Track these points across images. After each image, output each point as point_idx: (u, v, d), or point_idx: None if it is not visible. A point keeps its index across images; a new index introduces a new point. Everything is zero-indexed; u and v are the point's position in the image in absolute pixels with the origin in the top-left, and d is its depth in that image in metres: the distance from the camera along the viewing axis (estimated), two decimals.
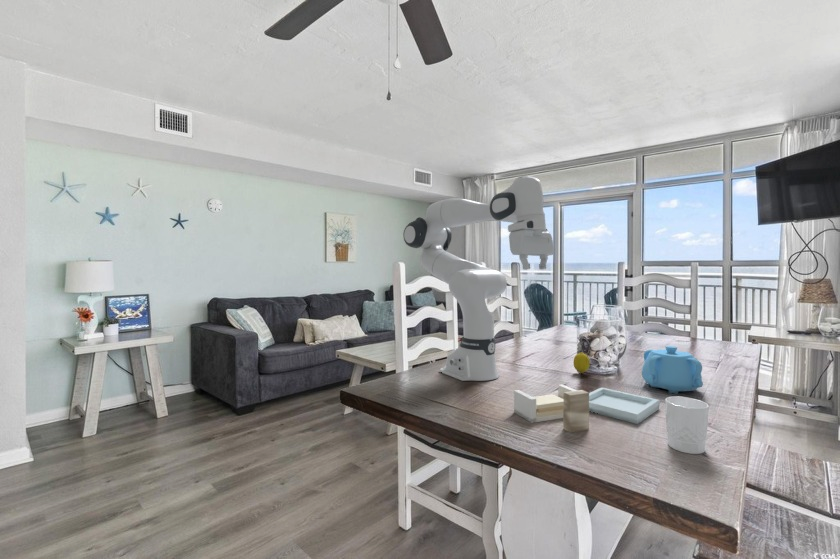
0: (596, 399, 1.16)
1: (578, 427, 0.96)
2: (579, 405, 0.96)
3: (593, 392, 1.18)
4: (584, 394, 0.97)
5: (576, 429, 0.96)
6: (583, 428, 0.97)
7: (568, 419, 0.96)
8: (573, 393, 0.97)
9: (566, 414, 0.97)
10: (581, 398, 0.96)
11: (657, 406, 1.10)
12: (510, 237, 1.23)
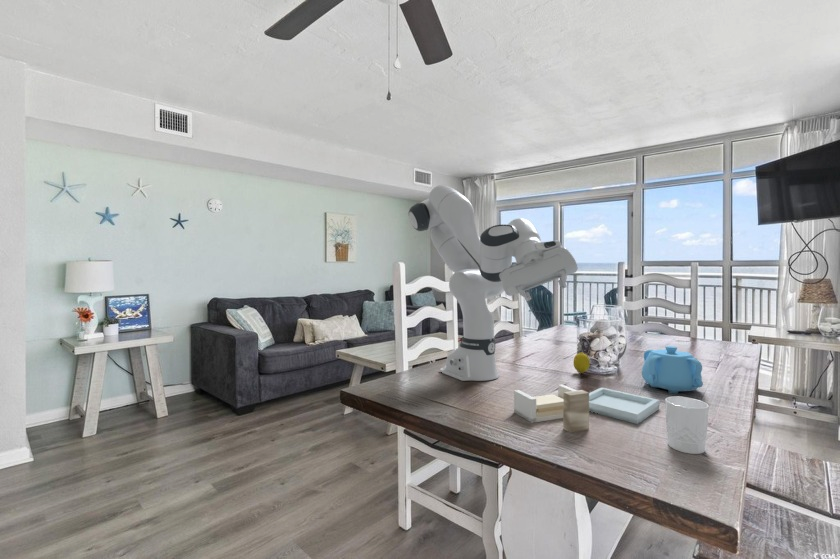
0: (596, 399, 1.16)
1: (578, 427, 0.96)
2: (579, 405, 0.96)
3: (593, 392, 1.18)
4: (584, 394, 0.97)
5: (576, 429, 0.96)
6: (583, 428, 0.97)
7: (568, 419, 0.96)
8: (573, 393, 0.97)
9: (566, 414, 0.97)
10: (581, 398, 0.96)
11: (657, 406, 1.10)
12: None
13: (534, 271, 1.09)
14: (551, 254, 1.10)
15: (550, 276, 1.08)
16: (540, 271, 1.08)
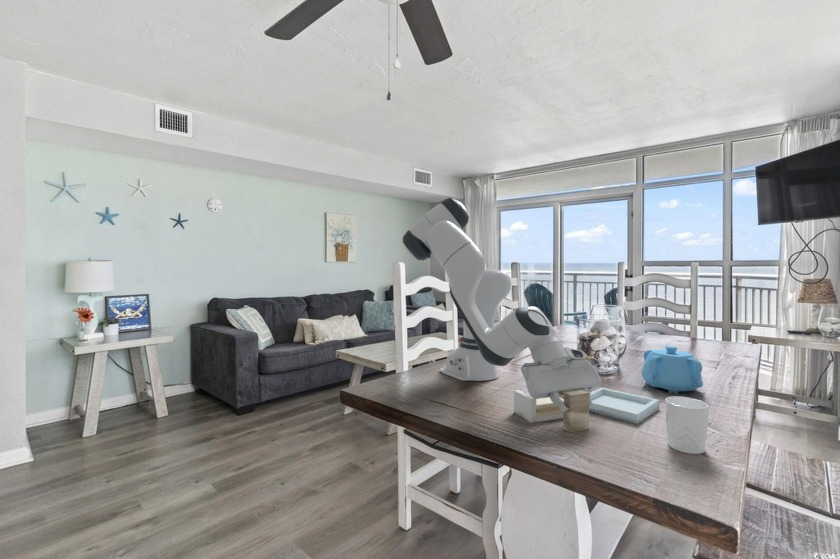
0: (596, 399, 1.16)
1: (578, 427, 0.96)
2: (579, 405, 0.96)
3: (593, 392, 1.18)
4: (584, 394, 0.97)
5: (576, 429, 0.96)
6: (583, 428, 0.97)
7: (568, 419, 0.96)
8: (573, 393, 0.97)
9: (566, 413, 0.97)
10: (581, 398, 0.96)
11: (657, 406, 1.10)
12: None
13: (565, 379, 1.00)
14: (578, 365, 1.04)
15: (575, 389, 1.02)
16: (571, 382, 1.00)
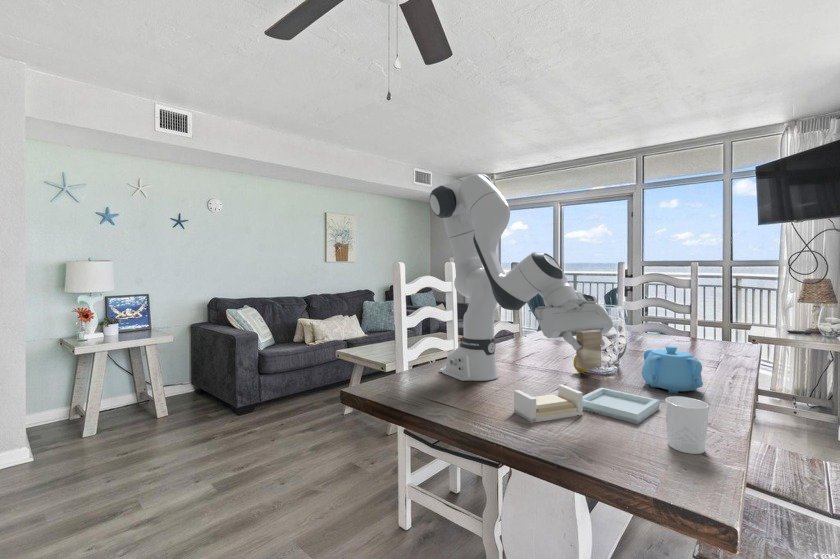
0: (596, 399, 1.16)
1: (591, 364, 1.00)
2: (591, 342, 0.99)
3: (593, 392, 1.18)
4: (596, 332, 1.00)
5: (589, 366, 0.99)
6: (596, 365, 1.00)
7: (581, 356, 0.99)
8: (586, 331, 1.00)
9: (579, 351, 1.00)
10: (593, 336, 1.00)
11: (657, 406, 1.10)
12: None
13: (577, 320, 1.03)
14: (589, 308, 1.07)
15: None
16: (583, 323, 1.03)
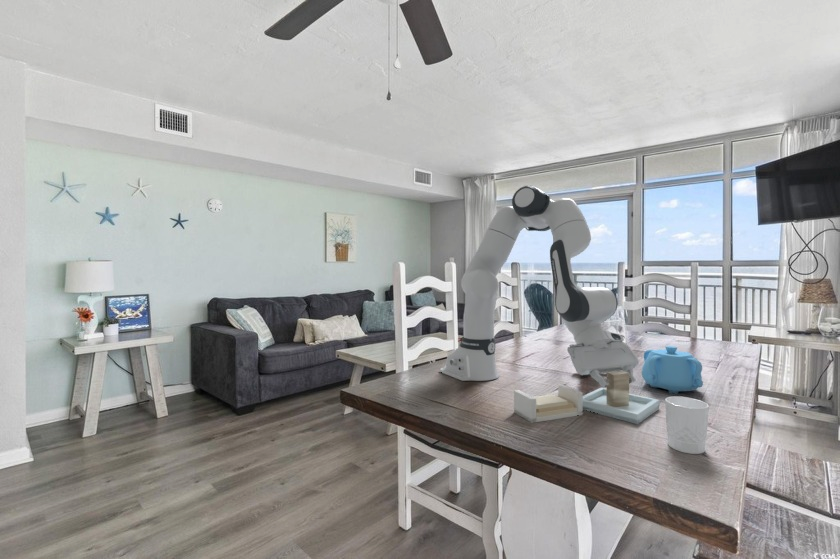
0: (596, 399, 1.16)
1: (620, 403, 1.10)
2: (621, 383, 1.10)
3: (593, 392, 1.18)
4: (625, 374, 1.11)
5: (618, 404, 1.10)
6: (624, 404, 1.11)
7: (612, 396, 1.10)
8: (615, 373, 1.11)
9: (609, 391, 1.11)
10: (622, 377, 1.10)
11: (657, 406, 1.10)
12: None
13: (606, 358, 1.14)
14: (617, 346, 1.18)
15: (615, 367, 1.16)
16: (612, 361, 1.14)
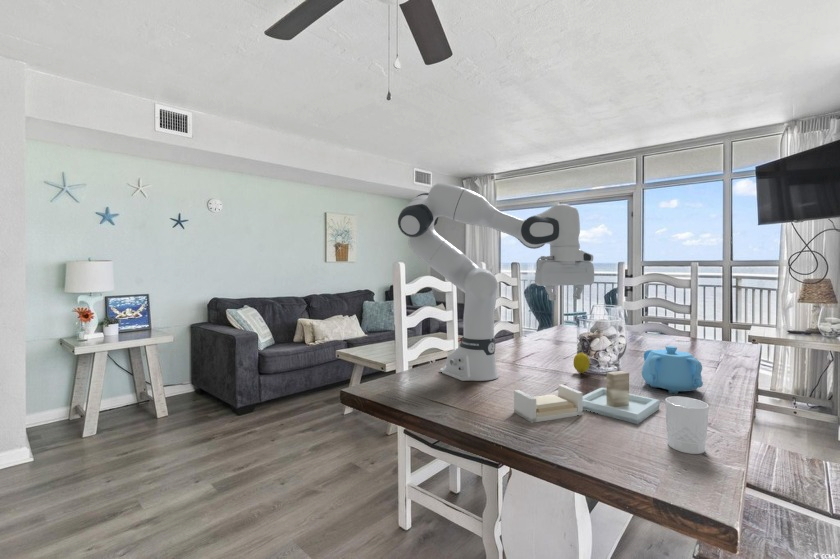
0: (596, 399, 1.16)
1: (620, 403, 1.10)
2: (621, 383, 1.10)
3: (593, 392, 1.18)
4: (625, 374, 1.11)
5: (618, 404, 1.10)
6: (624, 404, 1.11)
7: (612, 396, 1.10)
8: (615, 373, 1.11)
9: (609, 391, 1.11)
10: (622, 377, 1.10)
11: (657, 406, 1.10)
12: None
13: (566, 277, 1.25)
14: (582, 266, 1.26)
15: None
16: (570, 280, 1.25)
